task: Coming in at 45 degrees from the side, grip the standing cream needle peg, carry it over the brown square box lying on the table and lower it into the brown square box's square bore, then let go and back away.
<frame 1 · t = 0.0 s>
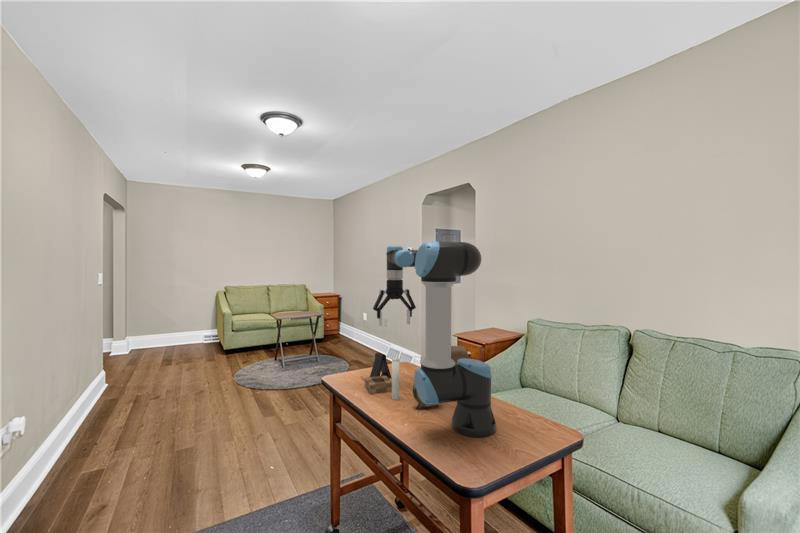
hand: (394, 324, 168), 28 cm above the table, tool pointing down, fingers open, 13 cm apart
needle peg: (395, 398, 152), on the table
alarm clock: (426, 407, 144), on the table
door stopper: (380, 378, 178), on the table
brown square box: (378, 388, 163), on the table
lace: (365, 380, 173), on the table
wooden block: (454, 394, 158), on the table
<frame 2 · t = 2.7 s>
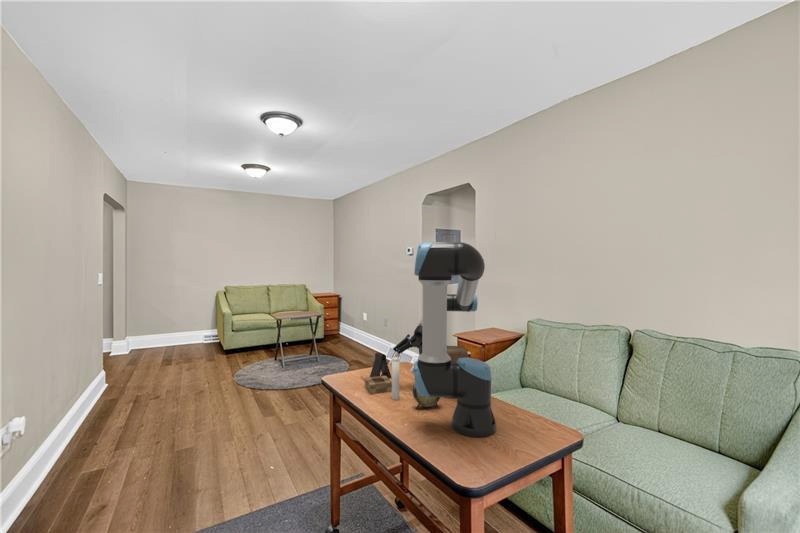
hand: (401, 369, 155), 11 cm above the table, tool tilted 45°, fingers open, 13 cm apart
nothing on the table moved.
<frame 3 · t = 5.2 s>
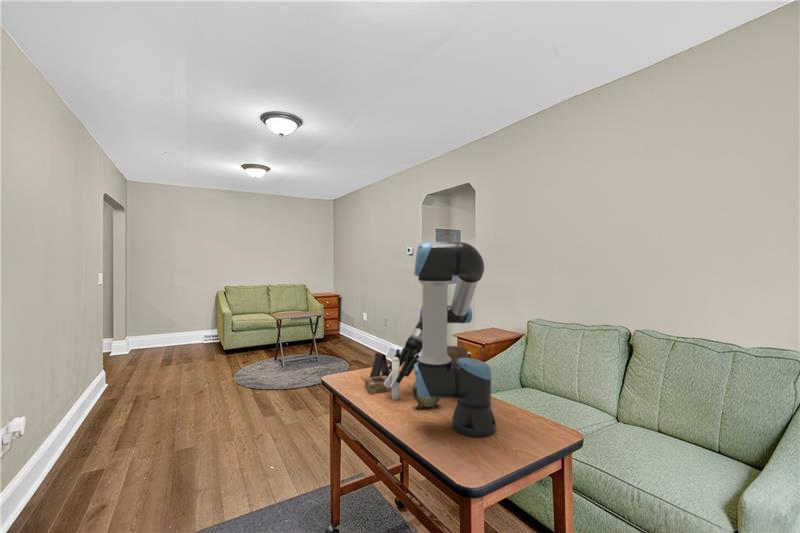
hand: (388, 387, 149), 6 cm above the table, tool tilted 45°, fingers closed on needle peg, 3 cm apart
needle peg: (395, 398, 152), on the table, touching gripper
everything else where it was.
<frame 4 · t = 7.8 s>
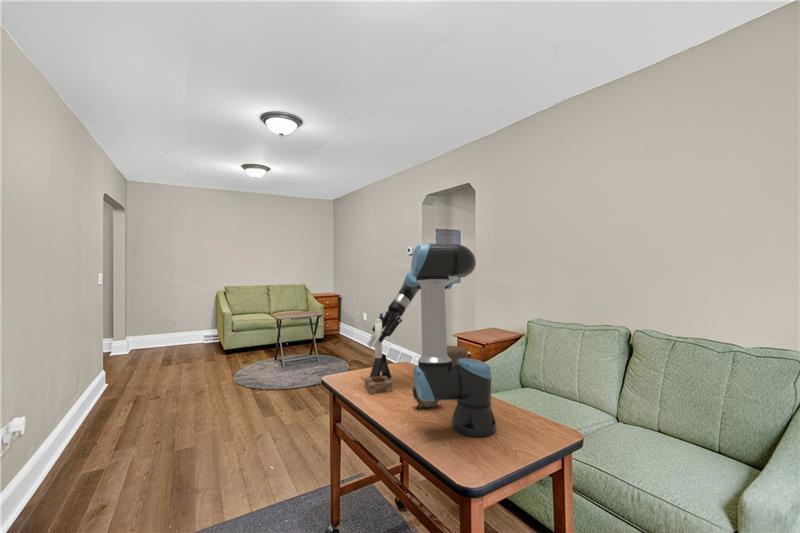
hand: (371, 346, 160), 20 cm above the table, tool tilted 45°, fingers closed on needle peg, 3 cm apart
needle peg: (378, 357, 163), point 14 cm above the table, touching gripper
everything else where it was.
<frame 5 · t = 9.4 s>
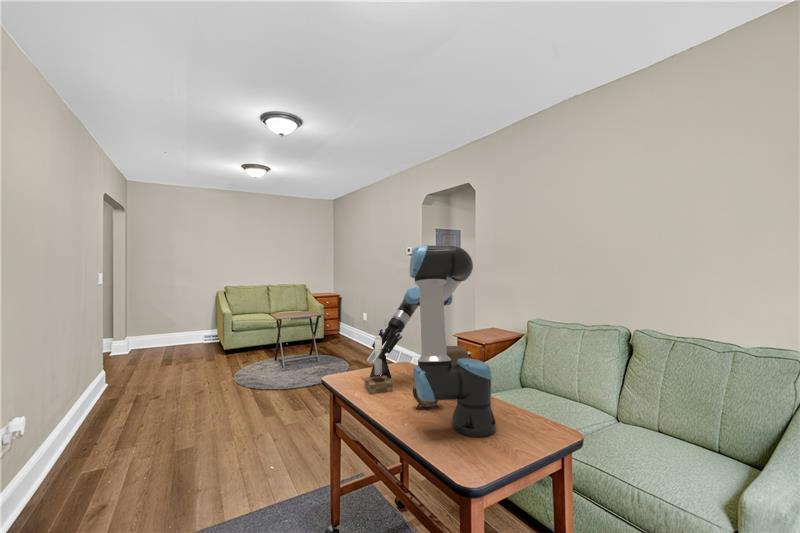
hand: (371, 363, 161), 12 cm above the table, tool tilted 45°, fingers closed on needle peg, 3 cm apart
needle peg: (378, 373, 164), point 7 cm above the table, touching gripper
everything else where it was.
when the fingers open (8 cm above the table, at t = 10.7 s): needle peg drops 2 cm, resting in brown square box.
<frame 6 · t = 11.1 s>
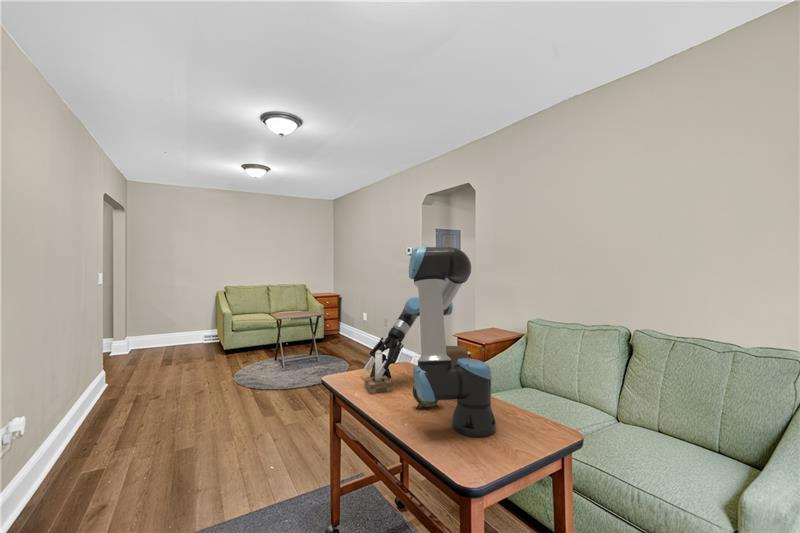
hand: (372, 372, 161), 8 cm above the table, tool tilted 45°, fingers open, 8 cm apart
needle peg: (378, 388, 163), resting in brown square box
everything else where it was.
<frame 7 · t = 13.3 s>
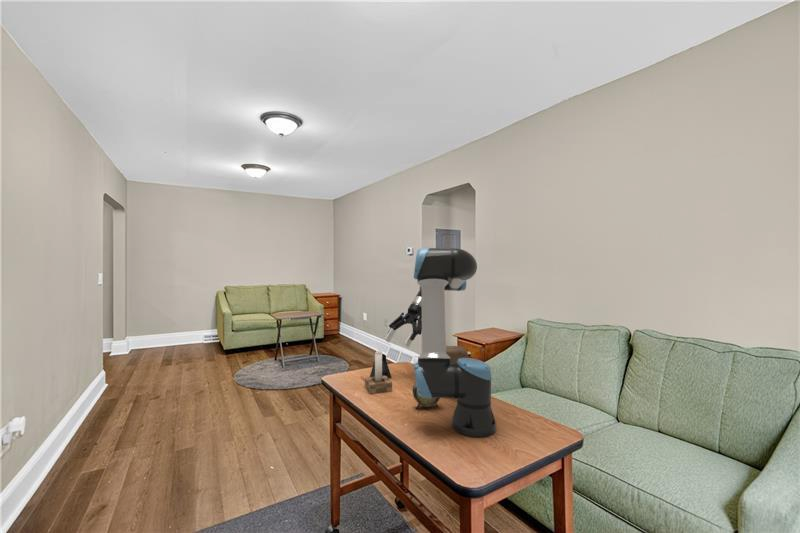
hand: (396, 343, 170), 19 cm above the table, tool tilted 45°, fingers open, 13 cm apart
nothing on the table moved.
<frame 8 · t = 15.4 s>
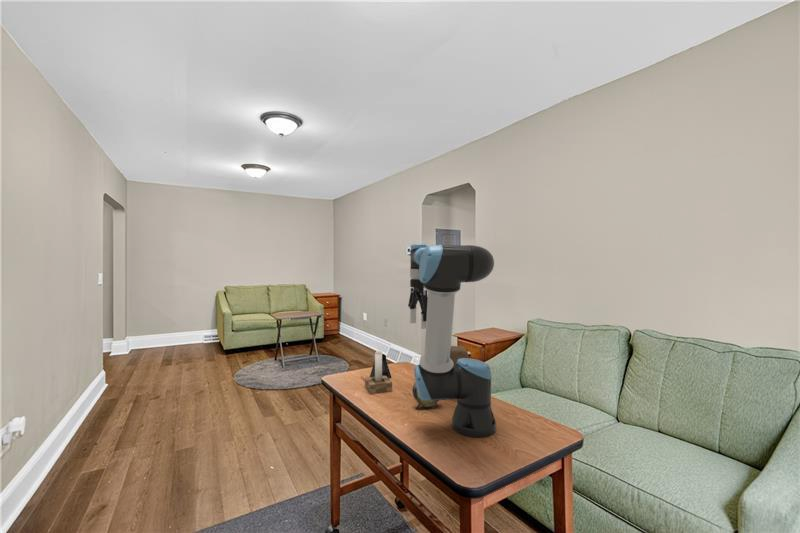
hand: (418, 325, 162), 29 cm above the table, tool pointing down, fingers open, 13 cm apart
nothing on the table moved.
at the end: needle peg 0.1 cm off-centre on the brown square box, point 0.0 cm above the brown square box's base; needle peg tilted 0°; the gripper is holding nothing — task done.
